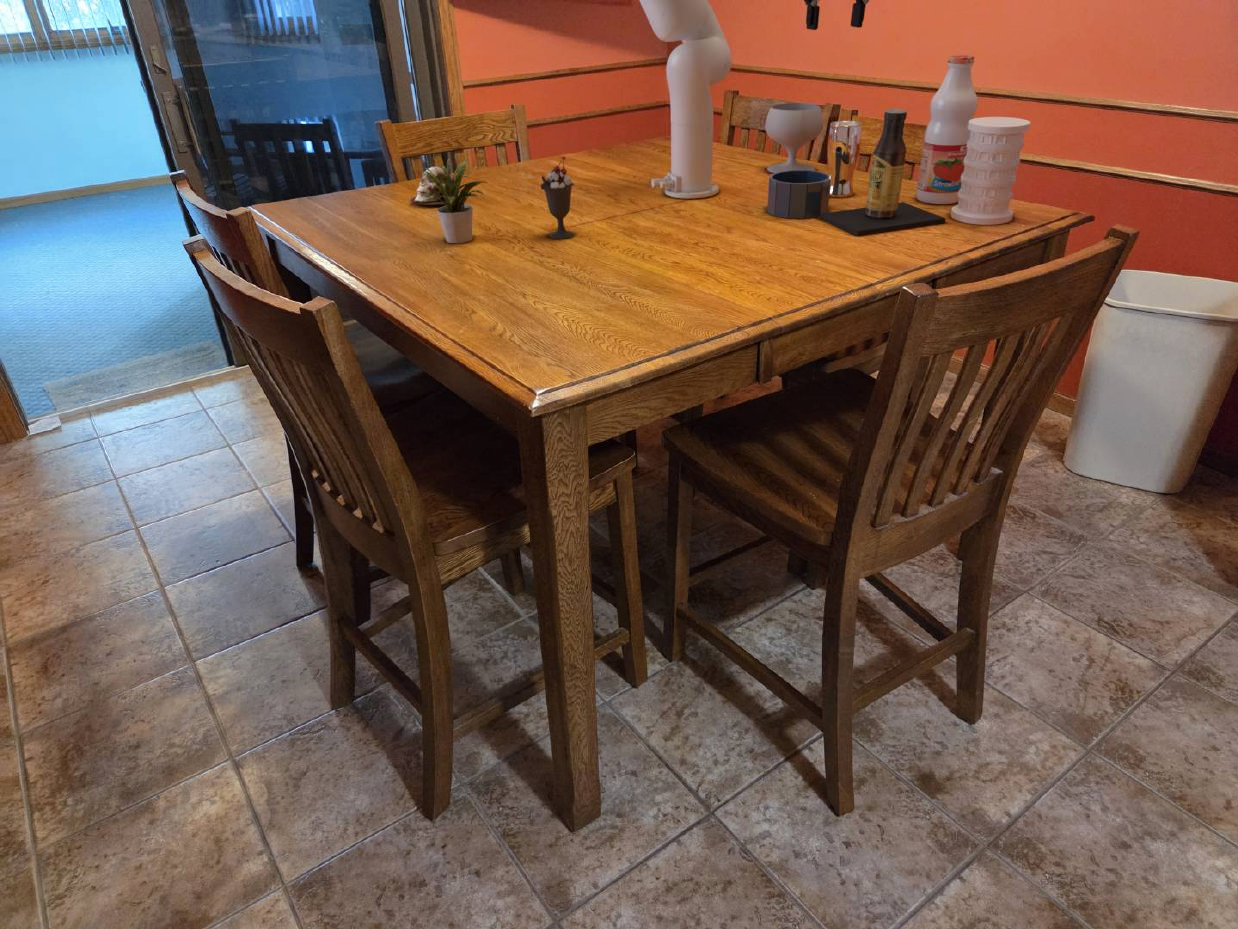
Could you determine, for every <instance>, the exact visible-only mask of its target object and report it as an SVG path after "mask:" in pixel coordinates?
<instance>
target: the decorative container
mask: <svg viewBox="0 0 1238 929" xmlns="http://www.w3.org/2000/svg"><path fill="white" fill-rule="evenodd" d="M1030 126H1031V121H1030V120H1027V119H1025V118H1019V117H1012V116H1011V117H1009V116H982V117H975V118H973V119H971V120H969V124H968V129H969V130H970V131H971V133H970V139H968V141H967V148H968V150H967V156H965V159H964V165H965V167H964V172H963V173H962V175H961V182H962V184H961V189H960V190H959V192H958V198H959V201H958V202H957V205H954V206H953V207H951V211H950V217H951V219H953V220H955V221H958V222H960V223H965V224H971V225H982V226H992V225H993V226H994V225H1002V224H1007V223H1010V222H1011V221H1012V220H1013V216H1014V210H1012V209H1011V208H1010V203H1011V201H1012V200H1013V198H1014V192H1013V188H1014V185H1015V184H1016V182H1017V170H1018V168H1019V165H1020V164H1021V158H1020V156H1021V151H1022V150H1023V148H1024V145H1025V142H1024V137H1025V133H1027V132H1029V130H1030Z"/></svg>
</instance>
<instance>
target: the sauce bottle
mask: <svg viewBox="0 0 1238 929" xmlns="http://www.w3.org/2000/svg"><path fill="white" fill-rule="evenodd" d="M907 115H908V111H907V110H905V109H901V108H890V109H886V110H885V111H884V114H883V119H884V120H883V121H884V122H883V126H882V132H881V135H880V138H879V140H878V142H877V144H876V146H875V149H874V150H873V152H872V158H871V166H870V171H869V179H868V188H867V193H866V194H867V195H866V200H865V201H866V202H865V207H867V208H866V214H867V215H868V216H870V217H873V218H891V217H894V216H895V215H896V210H897V208H898V203H900V202H899V201H900V198H901V197H900V196H901V190H902V185H903V184H902V183H903V177H904V171H905V165H906V163H905V161H906V155H907V145H906V142H905V140H904V138H903V135H904V127H905V122H906V119H907Z"/></svg>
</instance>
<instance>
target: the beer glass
mask: <svg viewBox="0 0 1238 929" xmlns="http://www.w3.org/2000/svg"><path fill="white" fill-rule="evenodd" d="M861 140H862V122H860V121H856V120H837V121H836V120H835V121H832V122H831V123H830V124H829V130H828V138H827V146H826V147H827V148H826V150H827V151H826V152H827V168H828V174H829V175H831V182H830V193H829V197H832V198H847V197H852V196H853V194H854V188H853V181H854V180H853V178H854V173H855V169H856V165H857V161H858V158H859V154H860V148H861Z"/></svg>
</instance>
